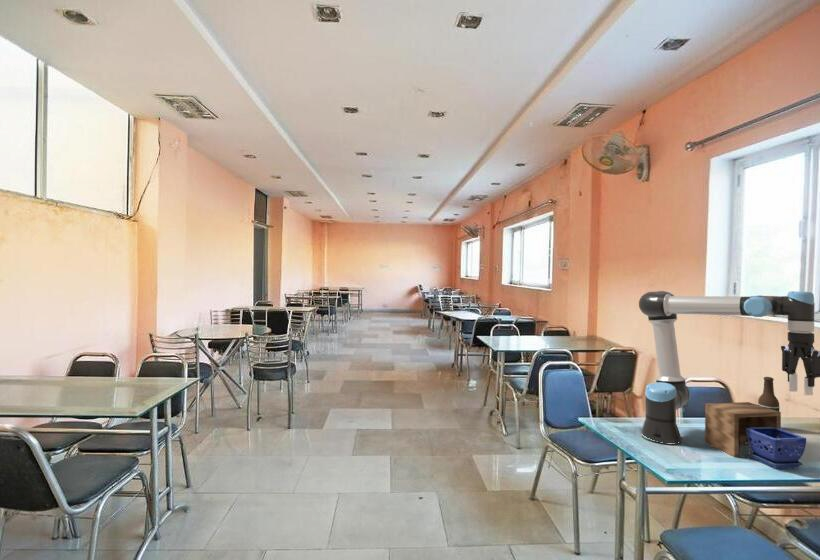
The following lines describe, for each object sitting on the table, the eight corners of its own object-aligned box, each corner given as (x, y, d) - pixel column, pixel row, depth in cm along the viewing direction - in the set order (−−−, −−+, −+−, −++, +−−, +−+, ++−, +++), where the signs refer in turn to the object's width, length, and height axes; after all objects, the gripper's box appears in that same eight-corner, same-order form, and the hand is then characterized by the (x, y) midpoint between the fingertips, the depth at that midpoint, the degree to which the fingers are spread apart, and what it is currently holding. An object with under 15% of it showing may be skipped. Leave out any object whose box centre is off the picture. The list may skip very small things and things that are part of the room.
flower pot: (743, 457, 168) (743, 426, 168) (774, 455, 170) (774, 425, 170) (775, 472, 155) (775, 439, 155) (808, 470, 156) (808, 438, 156)
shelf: (780, 454, 171) (780, 412, 171) (734, 457, 168) (734, 413, 168) (748, 441, 185) (748, 402, 185) (705, 443, 182) (705, 403, 182)
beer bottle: (784, 431, 197) (784, 379, 198) (767, 431, 198) (767, 379, 198) (770, 425, 205) (770, 375, 205) (753, 425, 205) (753, 375, 205)
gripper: (835, 334, 154) (835, 399, 154) (785, 329, 172) (785, 387, 172) (817, 335, 153) (817, 399, 153) (769, 329, 171) (769, 387, 171)
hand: (800, 392), depth 163 cm, fingers open, 5 cm apart
